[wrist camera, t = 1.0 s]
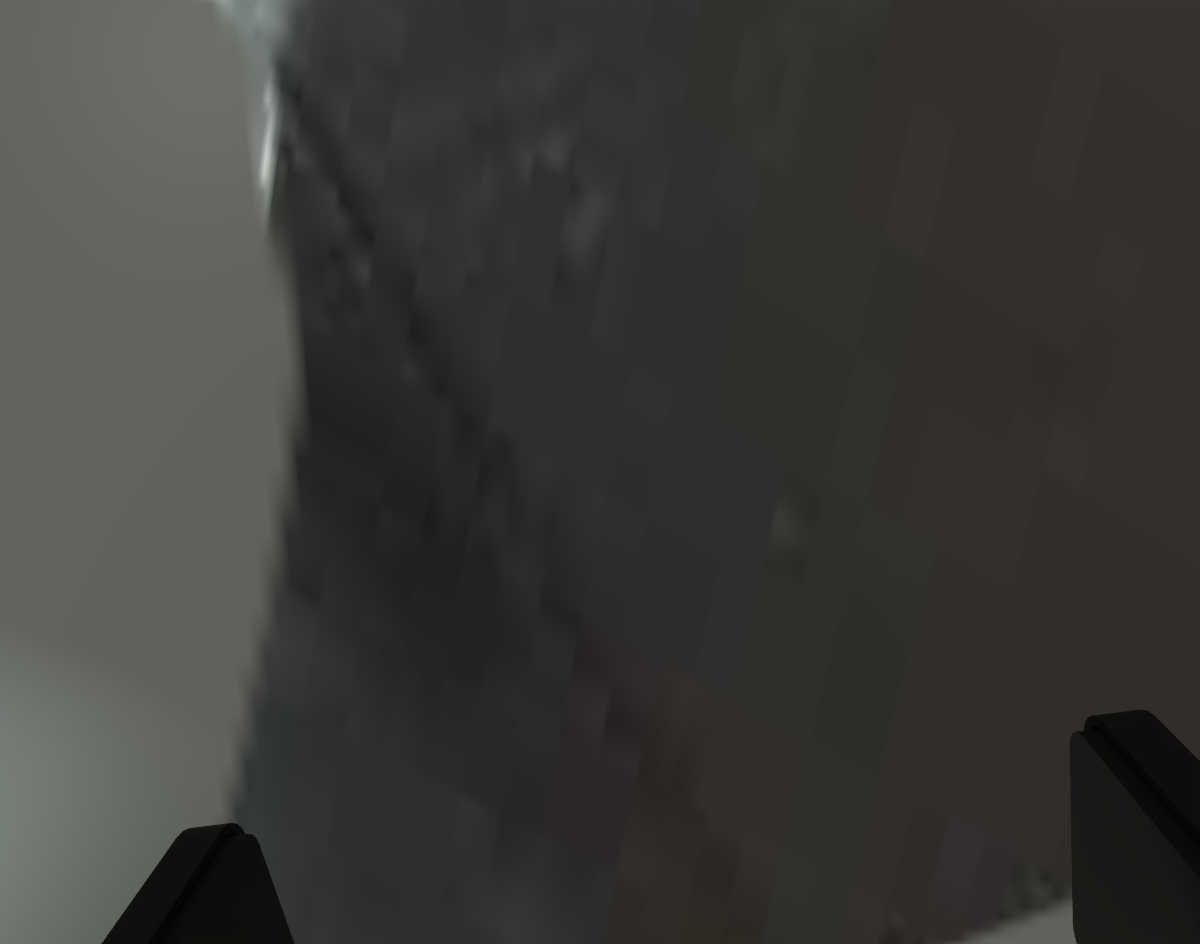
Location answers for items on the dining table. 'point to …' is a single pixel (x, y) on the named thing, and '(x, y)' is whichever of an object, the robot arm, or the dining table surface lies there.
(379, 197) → the dining table surface
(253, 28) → the dining table surface
